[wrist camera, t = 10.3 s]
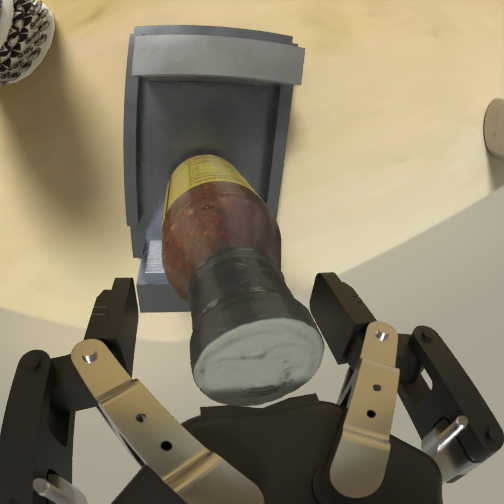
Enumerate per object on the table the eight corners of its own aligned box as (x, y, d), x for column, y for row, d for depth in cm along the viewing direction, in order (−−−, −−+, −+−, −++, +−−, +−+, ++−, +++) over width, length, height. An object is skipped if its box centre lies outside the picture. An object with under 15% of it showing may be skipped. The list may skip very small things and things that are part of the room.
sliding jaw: (273, 59, 21) (305, 48, 15) (270, 87, 22) (300, 85, 16) (149, 52, 18) (135, 36, 12) (146, 82, 20) (131, 76, 14)
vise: (288, 38, 21) (336, 17, 13) (263, 250, 31) (290, 305, 23) (136, 29, 18) (113, -2, 10) (134, 252, 28) (121, 312, 20)
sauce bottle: (217, 229, 28) (275, 436, 11) (155, 201, 25) (124, 414, 8) (254, 168, 25) (390, 330, 9) (191, 134, 23) (214, 260, 6)
